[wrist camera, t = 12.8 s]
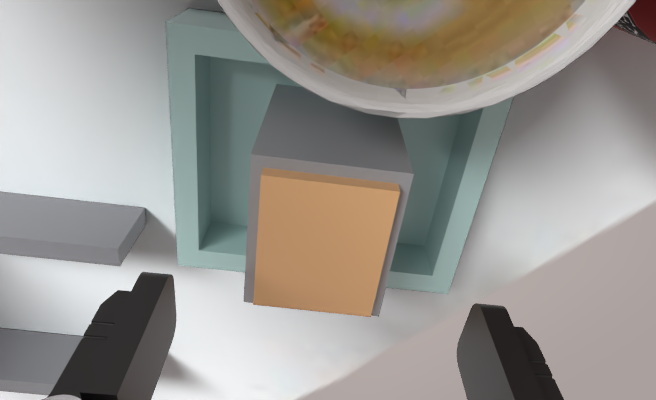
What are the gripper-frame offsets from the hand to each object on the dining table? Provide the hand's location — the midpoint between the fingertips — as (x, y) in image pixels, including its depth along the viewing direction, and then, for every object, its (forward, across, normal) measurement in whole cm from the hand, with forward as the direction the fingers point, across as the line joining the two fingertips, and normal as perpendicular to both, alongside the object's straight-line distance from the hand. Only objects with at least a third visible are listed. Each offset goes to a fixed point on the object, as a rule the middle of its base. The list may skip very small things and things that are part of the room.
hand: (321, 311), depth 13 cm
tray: (+11, 0, 0) cm, 11 cm away
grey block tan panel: (+10, 0, 0) cm, 11 cm away
